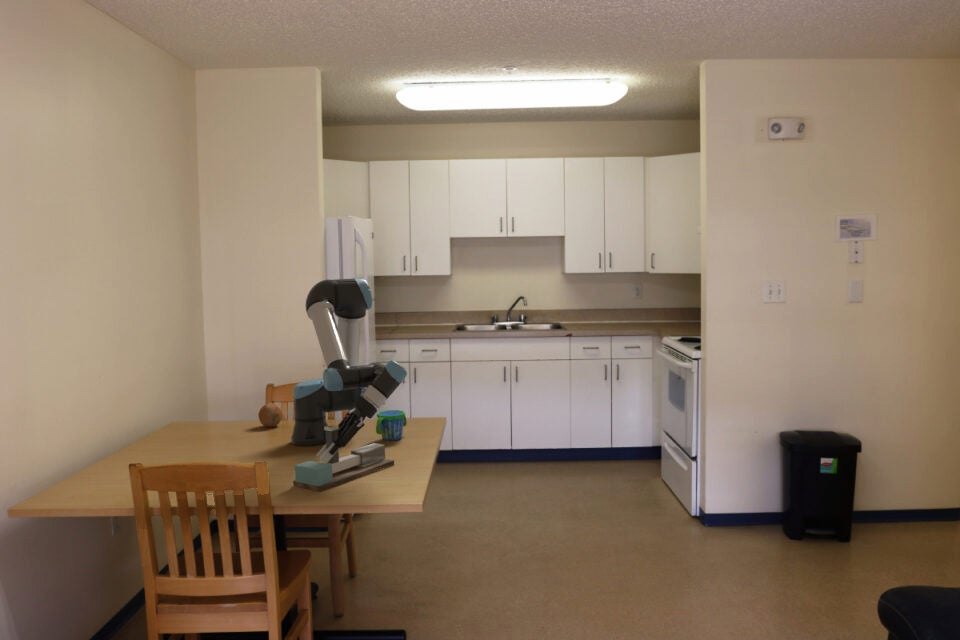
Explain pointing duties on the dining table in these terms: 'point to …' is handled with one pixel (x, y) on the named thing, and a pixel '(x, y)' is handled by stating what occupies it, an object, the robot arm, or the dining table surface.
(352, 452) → the long brown base plank
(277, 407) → the brown ball
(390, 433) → the snack cup
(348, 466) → the tube
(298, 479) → the socket
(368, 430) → the dining table surface
